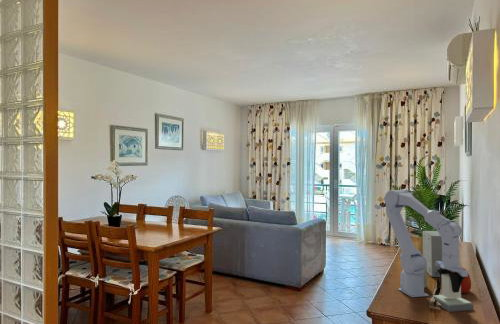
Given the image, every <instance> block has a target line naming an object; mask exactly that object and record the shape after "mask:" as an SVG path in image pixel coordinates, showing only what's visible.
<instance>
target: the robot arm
mask: <svg viewBox="0 0 500 324" xmlns="http://www.w3.org/2000/svg"><path fill="white" fill-rule="evenodd" d="M383 201H384V204H385V214H386V215H387V218H388V221H389V223H390V226H391V228H392V231H393V233H394V236H395V238H396V240H397V243H398V245H399V247H400V251H401V252H400V254H399V260H400V266H401V269H402V270H401V272H400V275H399V280H400V281H399V282H400V285H399V287H400V288H398V290H399V291H400V292H402V293H404V294H406V295H407V296H409V297H411V298H419V297H429V296H430V295H429V293H427V292H425V287H424V269H425V268H426V267H427V261H426V259H425V258H424V257H423V253H421V251H420V250H419V249H417V248H416V247H415V244H414V242H413V240H412V237H411V236H410V233H409V229H408V227H407V225H406V224H405V221H404V219H403V216H402V214H401V212H402V210H403V208H404V207H406V206H408V207H410V208H411V209H413V210H414V211H416V212H417V213H418V214H420V215H421V216H422V217H423V218H424V222H426V223H427V224H428V225H430V226H431V227H432V228H433V229H435V231H438V232H439V235H440V236H441V238H442V261H436V266H439V267H440V269H437V271H438V273H439V274H440V276H441V274H449V276H450V279H451V283H452V291H453V292H454V293H455V292H459V289H460V286H461V283H462V281H463V279H464V278H465V277H467V276H468V274H469V270H467V269H465V268H464V267H462V266H460V236H461V235H462V232H463V230H462V227H461V225H460V224H459V223H458V222H455V221H451V219H449V218H447V217H445V216H444V215H442V214H441V211H439V210H435V209H430V208H428V207H427V206H426V205H424V204H423V203H422V202H421V201H420V200H418V199H417V198H416V197H414V195H413V194H412V193H411V192H409V191H408V190H406V189H399V190H398V189H397V190H396V189H395V190H393V189H389V190H388V191H387V192H386V193H385V195H384V198H383ZM461 267H462V268H461ZM463 268H464V269H465V270H464V269H463ZM452 272H454V273H452ZM440 279H441V280H442V277H440Z"/></svg>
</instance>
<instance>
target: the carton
mask: <svg viewBox="0 0 500 324" xmlns="http://www.w3.org/2000/svg"><path fill="white" fill-rule="evenodd" d="M441 277H442V279H441V295H443V296H445V297H447V298H449V299H453V298H462V293H461V286H460V289H459V292H455V293H454V292H453V291H452V283H451V279H450V276H449V274H441ZM441 277H440V278H441Z"/></svg>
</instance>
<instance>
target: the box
mask: <svg viewBox="0 0 500 324" xmlns="http://www.w3.org/2000/svg"><path fill="white" fill-rule="evenodd" d="M424 288H428V273H427V267H426V268H425V269H424Z"/></svg>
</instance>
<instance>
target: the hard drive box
mask: <svg viewBox="0 0 500 324" xmlns="http://www.w3.org/2000/svg"><path fill="white" fill-rule="evenodd" d="M422 256H423V257H424V258H425V259H426V261H427V275H430V277H431V278H432V277H433V278H441V276H440V274H439V273H438V271H437V269H440V267H439V266H436V261H442V238H441V236H440V235H439V232H438V230H422Z"/></svg>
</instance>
